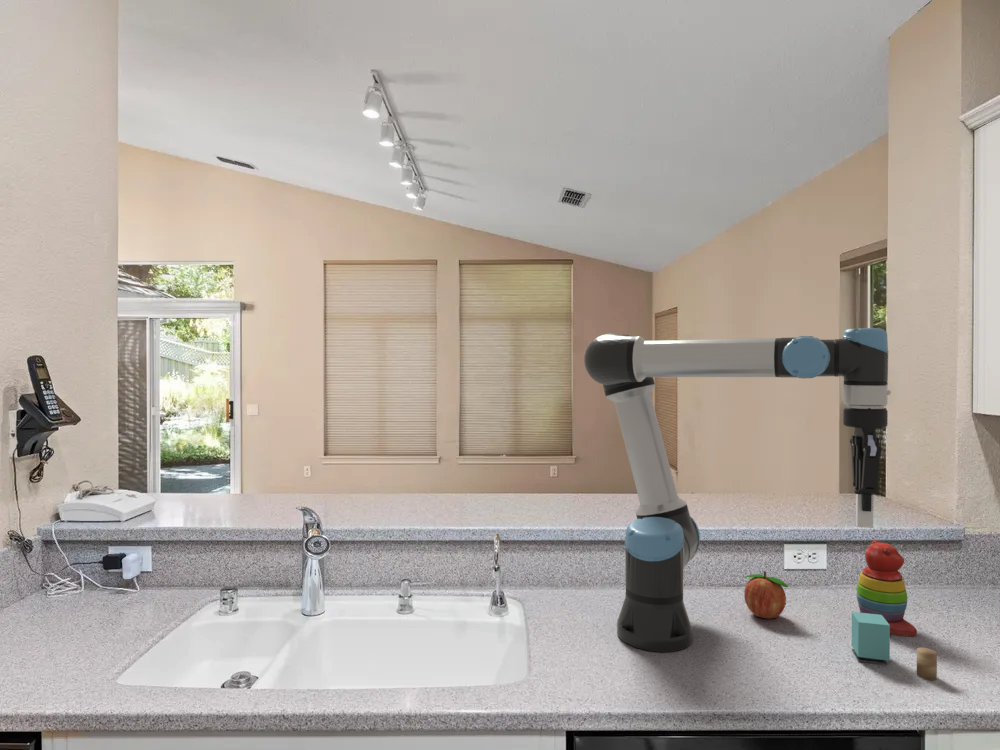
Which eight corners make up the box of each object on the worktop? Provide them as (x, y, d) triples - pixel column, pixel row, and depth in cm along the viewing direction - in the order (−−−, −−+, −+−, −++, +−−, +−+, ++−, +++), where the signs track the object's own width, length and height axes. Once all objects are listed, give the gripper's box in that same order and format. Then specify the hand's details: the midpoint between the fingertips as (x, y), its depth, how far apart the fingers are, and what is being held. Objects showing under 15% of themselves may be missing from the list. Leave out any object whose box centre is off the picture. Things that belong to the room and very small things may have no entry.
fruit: (775, 627, 134) (775, 581, 134) (734, 614, 141) (734, 570, 141) (794, 617, 139) (794, 572, 139) (753, 604, 147) (754, 562, 146)
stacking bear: (920, 637, 129) (921, 551, 128) (866, 633, 131) (867, 548, 130) (898, 617, 139) (899, 537, 139) (848, 613, 141) (849, 535, 141)
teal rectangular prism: (858, 656, 118) (858, 622, 118) (851, 645, 123) (851, 611, 123) (889, 660, 117) (889, 625, 116) (881, 648, 122) (881, 614, 121)
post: (858, 661, 118) (858, 624, 118) (852, 650, 123) (852, 615, 123) (887, 665, 117) (887, 628, 117) (879, 653, 121) (879, 618, 121)
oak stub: (920, 678, 112) (920, 653, 112) (914, 671, 115) (914, 646, 115) (939, 681, 111) (939, 656, 111) (933, 673, 114) (933, 648, 114)
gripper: (897, 409, 116) (896, 536, 116) (877, 405, 128) (876, 520, 128) (851, 408, 118) (850, 533, 118) (836, 404, 130) (836, 517, 131)
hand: (864, 526), depth 123 cm, fingers closed
